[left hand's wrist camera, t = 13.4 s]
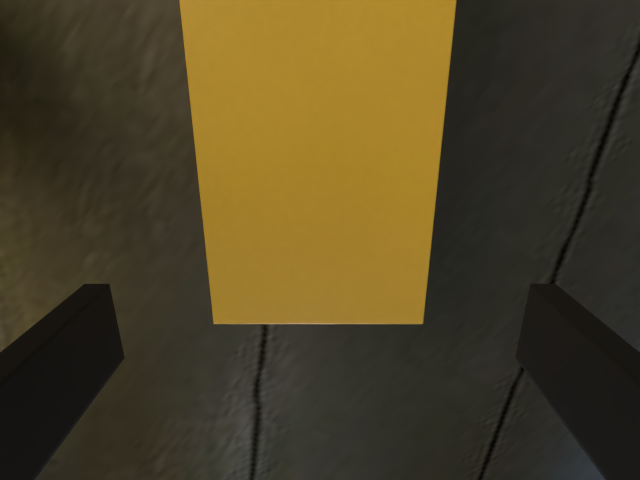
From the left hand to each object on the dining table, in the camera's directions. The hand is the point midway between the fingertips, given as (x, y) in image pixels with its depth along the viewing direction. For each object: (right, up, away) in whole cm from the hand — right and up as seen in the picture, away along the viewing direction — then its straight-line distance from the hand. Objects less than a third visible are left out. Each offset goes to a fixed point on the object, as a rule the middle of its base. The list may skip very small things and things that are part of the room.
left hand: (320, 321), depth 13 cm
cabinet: (0, +11, +14) cm, 18 cm away
